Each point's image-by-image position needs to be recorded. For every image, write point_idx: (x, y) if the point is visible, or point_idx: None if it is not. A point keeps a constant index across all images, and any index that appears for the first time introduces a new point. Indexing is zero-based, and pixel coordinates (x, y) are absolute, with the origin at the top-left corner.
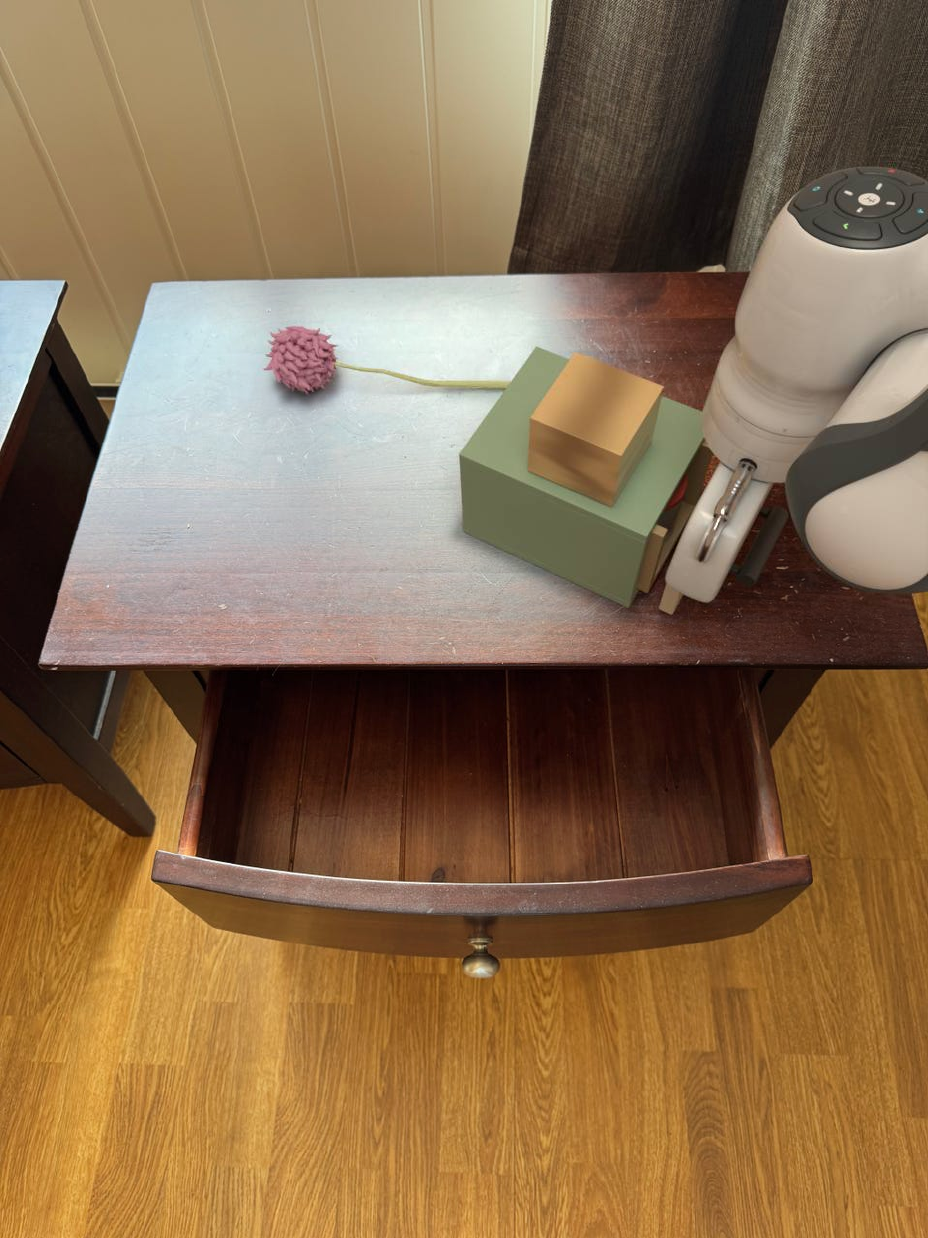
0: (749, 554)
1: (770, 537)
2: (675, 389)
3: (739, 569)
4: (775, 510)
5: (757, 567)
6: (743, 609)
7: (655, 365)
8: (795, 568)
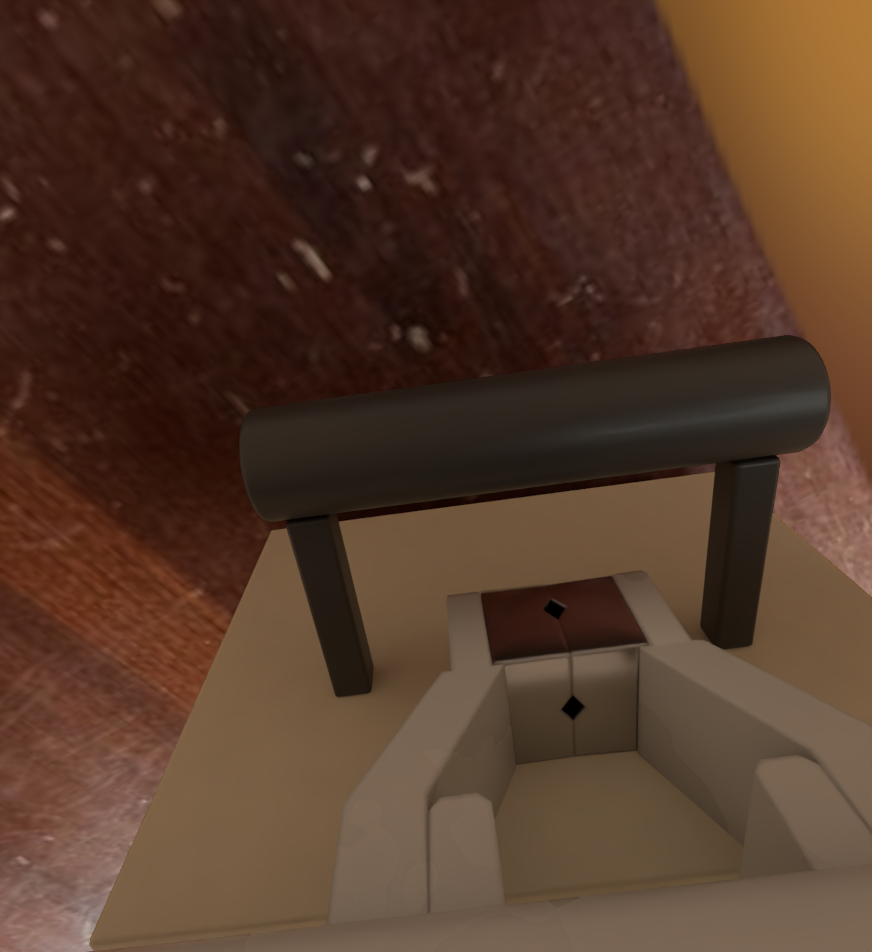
0: (652, 470)
1: (490, 439)
2: (27, 790)
3: (752, 459)
4: (289, 507)
5: (743, 394)
6: (552, 286)
7: (13, 846)
8: (280, 212)
